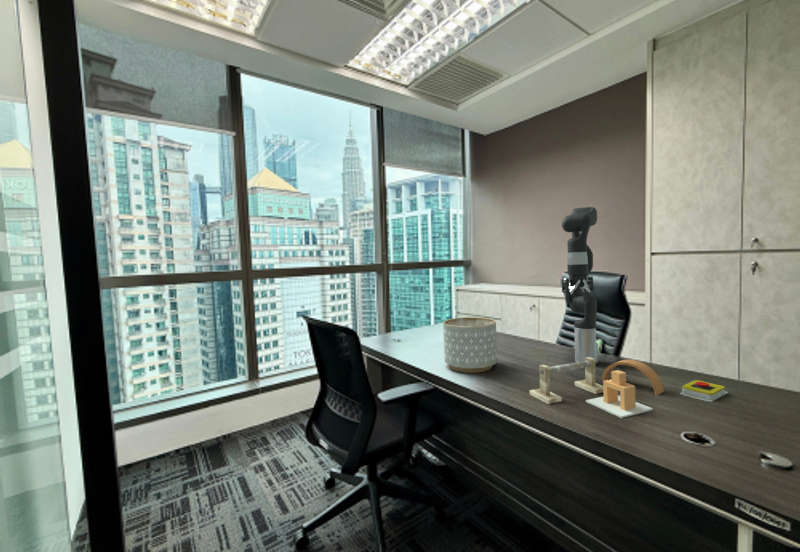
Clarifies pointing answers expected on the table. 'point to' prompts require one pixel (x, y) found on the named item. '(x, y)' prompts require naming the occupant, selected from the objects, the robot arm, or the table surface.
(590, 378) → the rail stand
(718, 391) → the emergency button
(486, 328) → the planter
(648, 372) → the arch
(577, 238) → the robot arm
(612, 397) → the wooden bridge block
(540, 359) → the table surface
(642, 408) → the mat
